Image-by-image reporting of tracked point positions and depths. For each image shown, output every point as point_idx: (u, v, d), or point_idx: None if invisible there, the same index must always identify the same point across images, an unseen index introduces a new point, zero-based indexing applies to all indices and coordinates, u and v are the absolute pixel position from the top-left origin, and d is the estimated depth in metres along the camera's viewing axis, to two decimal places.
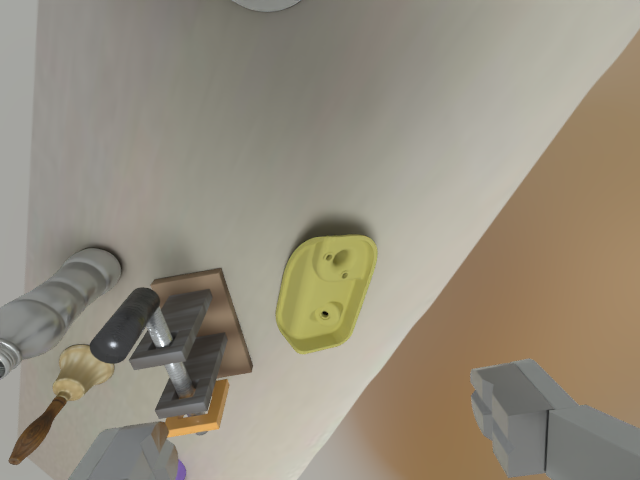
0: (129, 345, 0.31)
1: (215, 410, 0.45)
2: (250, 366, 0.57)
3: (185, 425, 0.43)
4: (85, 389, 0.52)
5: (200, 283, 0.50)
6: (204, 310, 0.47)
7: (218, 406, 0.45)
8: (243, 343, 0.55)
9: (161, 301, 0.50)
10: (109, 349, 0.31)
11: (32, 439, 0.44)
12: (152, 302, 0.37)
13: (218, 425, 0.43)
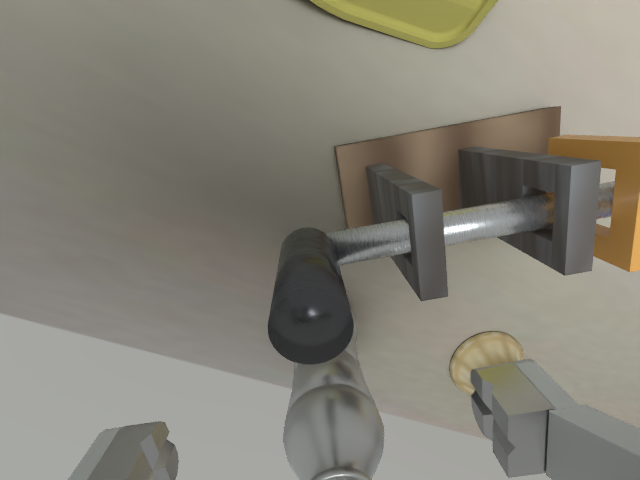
0: (308, 284, 0.13)
1: (611, 151, 0.19)
2: (547, 108, 0.29)
3: (631, 219, 0.18)
4: None
5: (354, 180, 0.30)
6: (387, 170, 0.25)
7: (605, 144, 0.19)
8: (490, 118, 0.29)
9: None
10: (310, 326, 0.13)
11: None
12: (296, 237, 0.19)
13: None
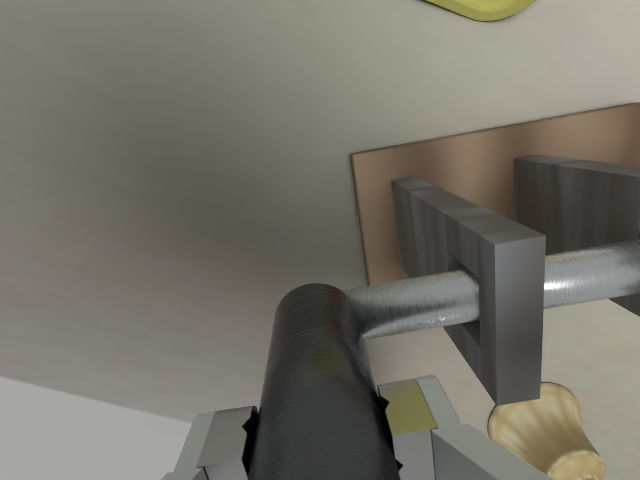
0: (321, 475, 0.06)
1: None
2: (633, 104, 0.22)
3: None
4: (584, 448, 0.26)
5: (376, 198, 0.23)
6: (426, 188, 0.18)
7: None
8: (557, 117, 0.22)
9: None
10: None
11: None
12: (298, 306, 0.12)
13: None
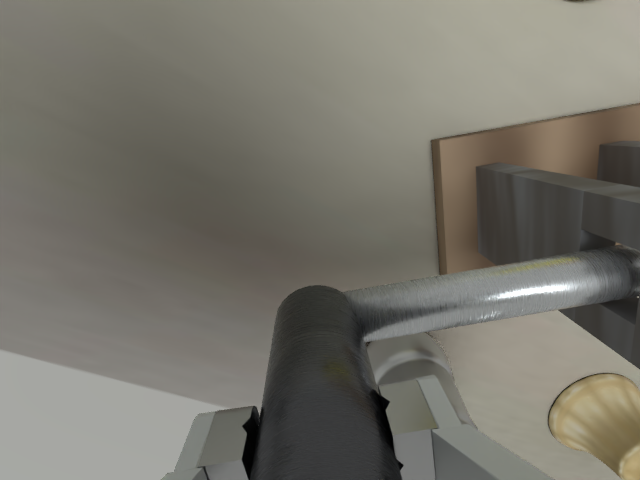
0: None
1: None
2: None
3: None
4: None
5: (459, 185, 0.23)
6: (529, 171, 0.18)
7: None
8: None
9: None
10: None
11: None
12: (299, 308, 0.11)
13: None
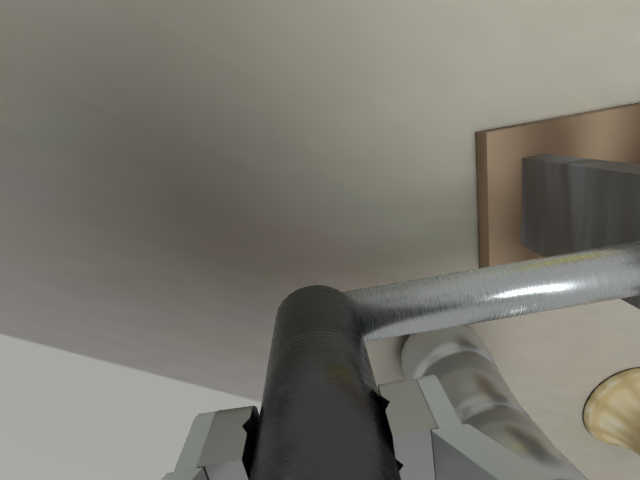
0: None
1: None
2: None
3: None
4: None
5: (504, 177, 0.23)
6: (585, 161, 0.18)
7: None
8: None
9: None
10: None
11: None
12: (299, 308, 0.12)
13: None
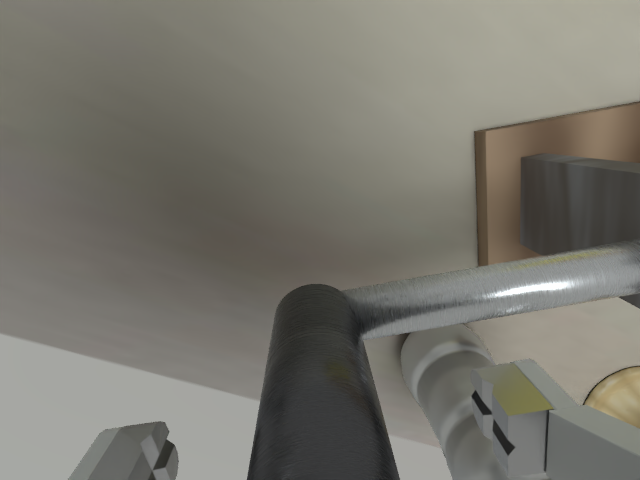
0: (321, 477, 0.06)
1: None
2: None
3: None
4: None
5: (503, 176, 0.23)
6: (583, 160, 0.18)
7: None
8: None
9: None
10: None
11: None
12: (298, 307, 0.12)
13: None
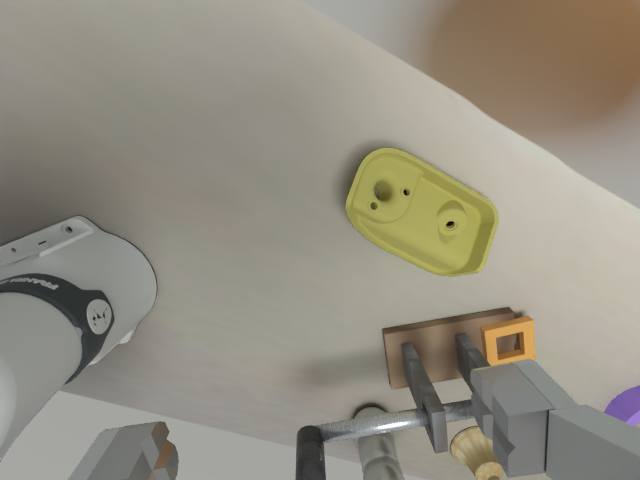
0: None
1: (520, 326, 0.49)
2: (506, 312, 0.50)
3: (532, 343, 0.50)
4: (492, 460, 0.54)
5: (394, 350, 0.51)
6: (415, 360, 0.47)
7: (517, 325, 0.49)
8: (474, 316, 0.50)
9: None
10: None
11: None
12: (304, 437, 0.40)
13: (527, 317, 0.50)
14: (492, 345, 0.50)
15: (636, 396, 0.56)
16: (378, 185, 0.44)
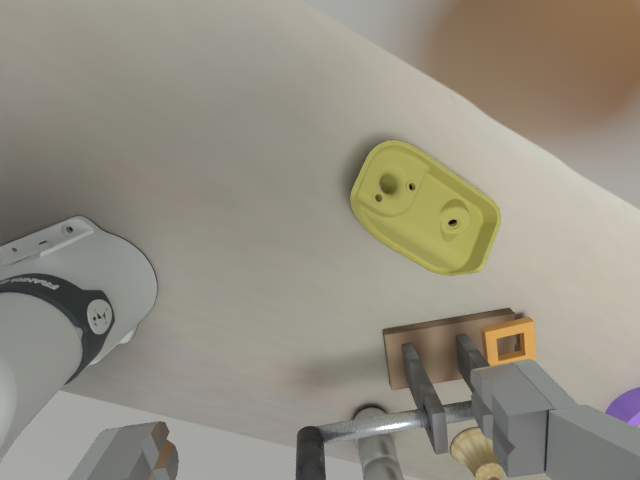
0: None
1: (520, 327, 0.49)
2: (507, 313, 0.50)
3: (533, 345, 0.50)
4: (493, 462, 0.54)
5: (394, 351, 0.51)
6: (416, 361, 0.47)
7: (517, 326, 0.49)
8: (474, 317, 0.50)
9: None
10: None
11: None
12: (304, 437, 0.40)
13: (527, 318, 0.50)
14: (493, 346, 0.50)
15: (637, 397, 0.55)
16: (383, 178, 0.43)
